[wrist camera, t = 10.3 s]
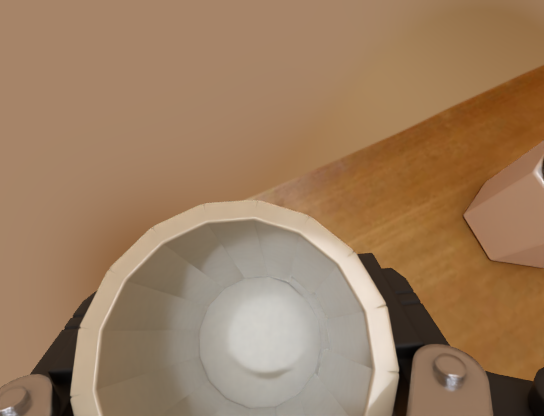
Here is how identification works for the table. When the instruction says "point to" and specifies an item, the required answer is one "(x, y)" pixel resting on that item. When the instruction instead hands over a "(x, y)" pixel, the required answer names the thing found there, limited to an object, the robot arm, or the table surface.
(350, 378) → the tan hollow cylinder
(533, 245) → the jar
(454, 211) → the table surface
